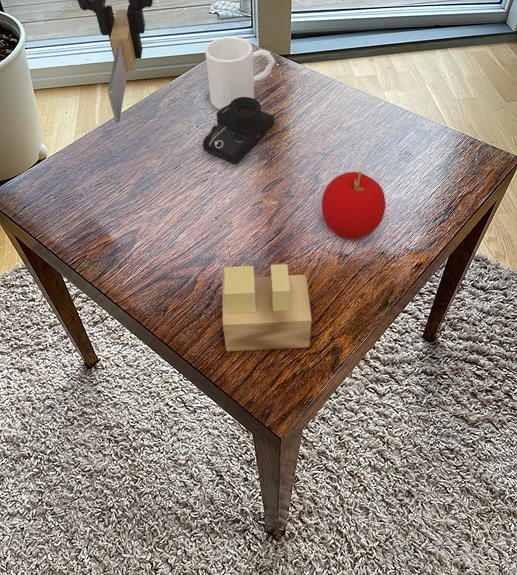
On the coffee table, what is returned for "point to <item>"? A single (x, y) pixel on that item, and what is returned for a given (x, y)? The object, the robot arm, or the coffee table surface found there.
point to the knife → (120, 61)
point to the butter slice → (280, 287)
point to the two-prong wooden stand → (270, 319)
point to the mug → (233, 69)
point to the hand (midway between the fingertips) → (128, 54)
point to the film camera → (238, 129)
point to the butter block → (239, 289)
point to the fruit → (353, 205)
